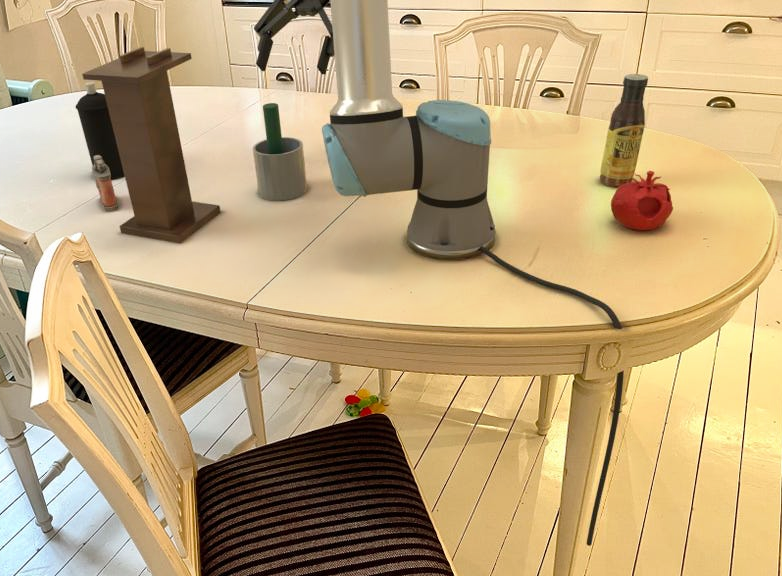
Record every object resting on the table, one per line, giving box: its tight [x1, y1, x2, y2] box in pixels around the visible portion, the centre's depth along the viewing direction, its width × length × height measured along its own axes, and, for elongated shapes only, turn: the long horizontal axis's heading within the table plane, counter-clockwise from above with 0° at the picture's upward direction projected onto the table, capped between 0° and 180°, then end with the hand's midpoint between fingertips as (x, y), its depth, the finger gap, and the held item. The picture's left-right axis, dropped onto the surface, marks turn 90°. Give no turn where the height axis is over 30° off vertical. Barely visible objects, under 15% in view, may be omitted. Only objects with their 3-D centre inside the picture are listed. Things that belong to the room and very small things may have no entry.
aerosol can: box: [75, 81, 125, 181], centre depth 163 cm, size 8×8×20 cm
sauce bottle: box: [599, 73, 649, 188], centre depth 138 cm, size 6×6×20 cm
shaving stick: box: [262, 102, 283, 154], centre depth 147 cm, size 17×5×5 cm
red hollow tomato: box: [610, 170, 674, 231], centre depth 127 cm, size 10×10×9 cm
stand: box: [81, 46, 222, 244], centre depth 136 cm, size 15×14×31 cm
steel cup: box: [252, 136, 308, 202], centre depth 150 cm, size 10×10×10 cm
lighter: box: [91, 155, 119, 212], centre depth 152 cm, size 8×3×10 cm, turn 22°
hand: (290, 69), depth 146 cm, fingers open, 13 cm apart
